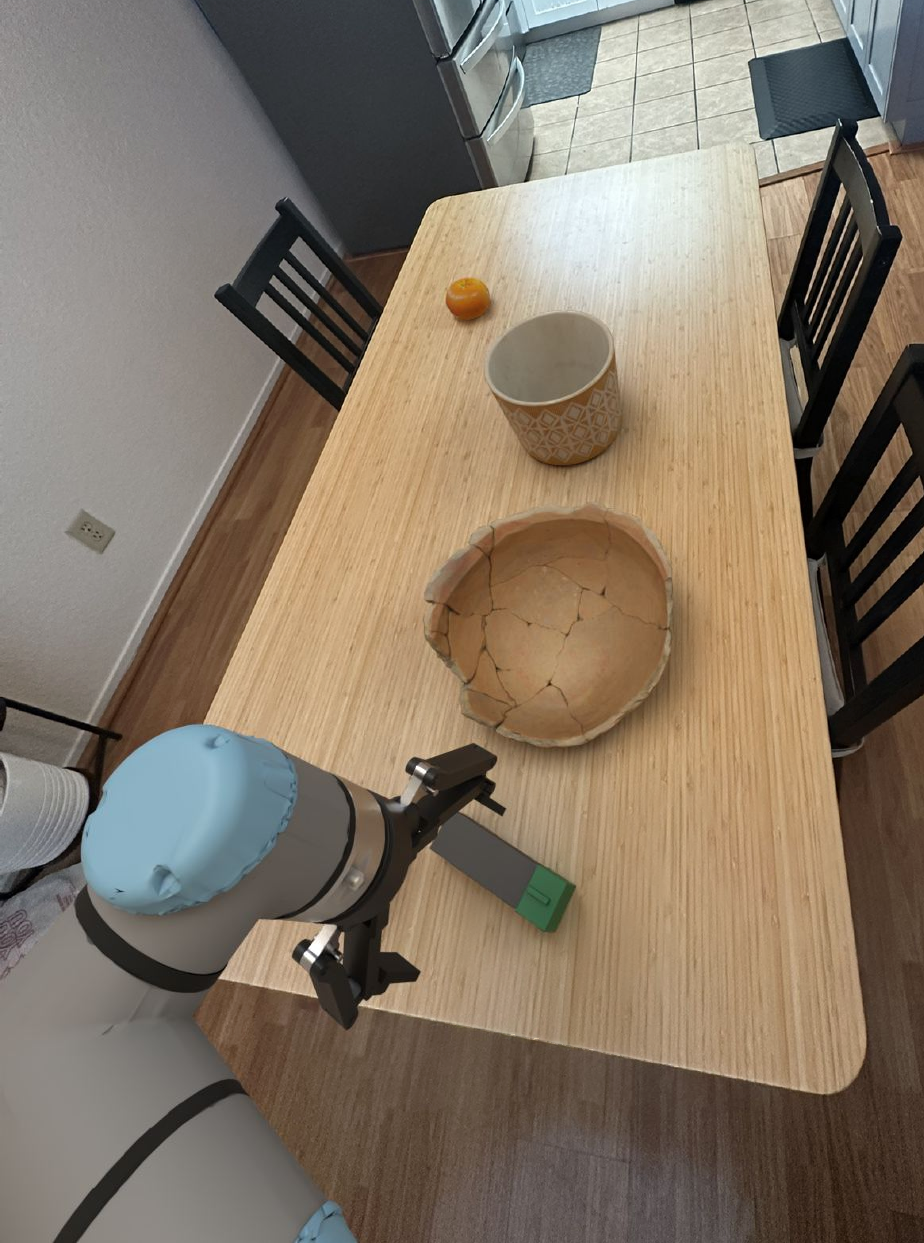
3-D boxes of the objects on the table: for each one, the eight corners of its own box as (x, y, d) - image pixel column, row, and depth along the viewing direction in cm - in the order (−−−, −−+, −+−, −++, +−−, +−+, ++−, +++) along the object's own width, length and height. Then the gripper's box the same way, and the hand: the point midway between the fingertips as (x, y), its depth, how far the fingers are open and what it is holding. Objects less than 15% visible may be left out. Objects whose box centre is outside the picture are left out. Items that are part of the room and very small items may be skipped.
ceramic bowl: (497, 805, 72) (447, 750, 62) (442, 629, 92) (397, 565, 82) (727, 679, 76) (713, 607, 66) (626, 535, 96) (604, 463, 86)
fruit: (500, 282, 127) (467, 263, 121) (493, 321, 125) (460, 304, 119) (475, 293, 133) (442, 275, 127) (468, 331, 131) (435, 315, 125)
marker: (443, 853, 73) (425, 848, 68) (465, 813, 75) (449, 805, 70) (555, 932, 66) (542, 931, 62) (576, 886, 68) (565, 882, 64)
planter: (562, 496, 98) (535, 427, 85) (492, 432, 108) (459, 362, 95) (654, 422, 102) (642, 346, 89) (579, 367, 113) (558, 292, 100)
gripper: (226, 1139, 32) (399, 1077, 49) (488, 692, 43) (556, 765, 60) (141, 1042, 36) (331, 1014, 52) (405, 648, 47) (492, 729, 63)
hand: (451, 881), depth 56 cm, fingers open, 13 cm apart
